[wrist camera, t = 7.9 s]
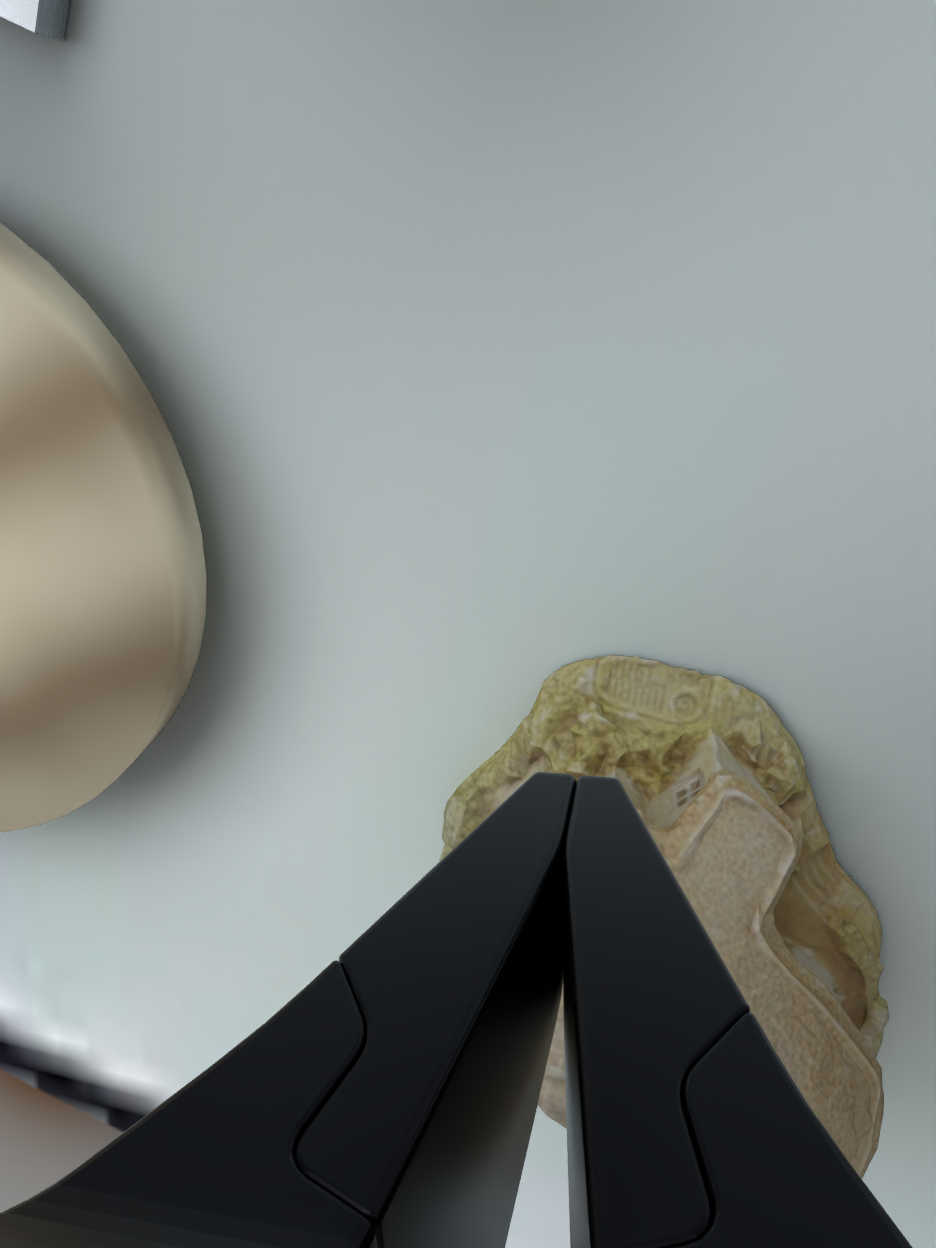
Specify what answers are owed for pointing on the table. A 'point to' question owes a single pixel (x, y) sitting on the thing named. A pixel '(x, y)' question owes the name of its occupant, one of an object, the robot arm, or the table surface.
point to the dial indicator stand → (38, 15)
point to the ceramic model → (721, 863)
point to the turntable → (84, 551)
